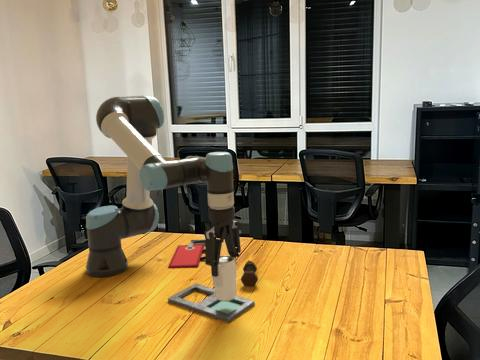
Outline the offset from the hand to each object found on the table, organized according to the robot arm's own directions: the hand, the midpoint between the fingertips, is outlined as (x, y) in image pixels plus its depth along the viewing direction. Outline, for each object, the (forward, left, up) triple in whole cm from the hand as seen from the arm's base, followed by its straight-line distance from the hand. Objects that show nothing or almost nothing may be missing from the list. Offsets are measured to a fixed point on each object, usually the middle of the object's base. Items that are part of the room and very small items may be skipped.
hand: (224, 281), depth 132 cm
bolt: (-7, +22, -9) cm, 25 cm away
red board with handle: (-41, +30, -9) cm, 51 cm away
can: (0, 0, -5) cm, 5 cm away
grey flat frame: (-6, 0, -9) cm, 10 cm away
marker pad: (0, 0, -9) cm, 9 cm away
